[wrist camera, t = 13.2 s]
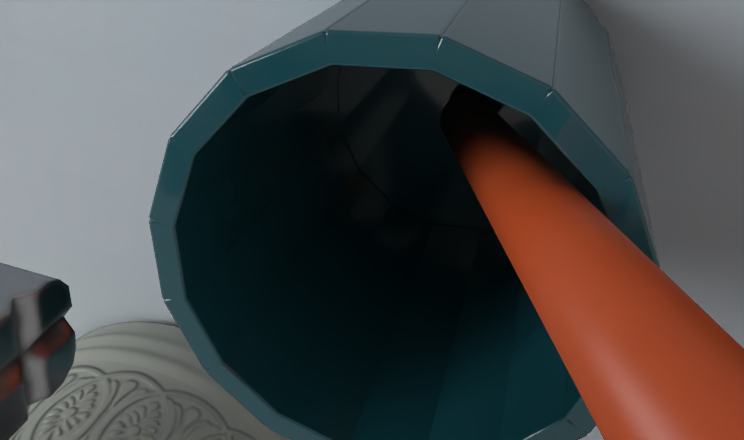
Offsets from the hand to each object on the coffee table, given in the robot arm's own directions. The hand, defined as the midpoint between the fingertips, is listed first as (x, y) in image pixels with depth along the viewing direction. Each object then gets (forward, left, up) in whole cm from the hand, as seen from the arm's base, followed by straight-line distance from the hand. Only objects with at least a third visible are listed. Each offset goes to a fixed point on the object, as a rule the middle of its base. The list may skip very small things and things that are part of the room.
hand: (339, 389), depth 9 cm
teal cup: (0, 0, -12) cm, 12 cm away
